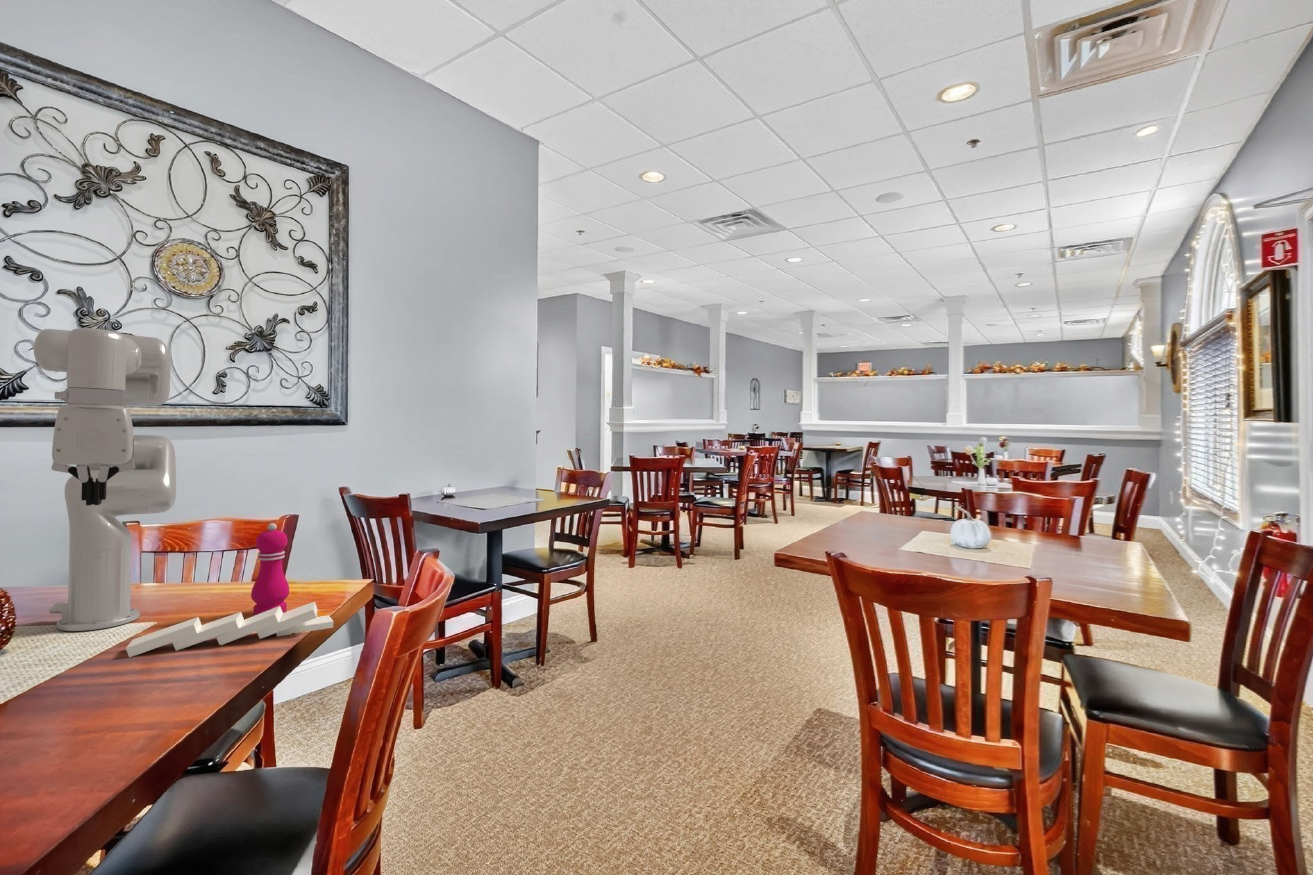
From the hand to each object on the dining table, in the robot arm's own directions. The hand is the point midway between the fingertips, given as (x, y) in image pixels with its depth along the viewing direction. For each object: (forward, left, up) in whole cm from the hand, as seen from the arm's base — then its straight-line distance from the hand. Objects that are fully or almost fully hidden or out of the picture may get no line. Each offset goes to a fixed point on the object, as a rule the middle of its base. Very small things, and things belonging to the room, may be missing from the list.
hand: (93, 504), depth 105 cm
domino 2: (+17, +9, -26) cm, 32 cm away
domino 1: (+11, +6, -26) cm, 29 cm away
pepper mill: (+15, +27, -27) cm, 42 cm away
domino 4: (+24, +14, -27) cm, 38 cm away
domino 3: (+22, +11, -26) cm, 36 cm away
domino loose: (+5, +3, -26) cm, 27 cm away
